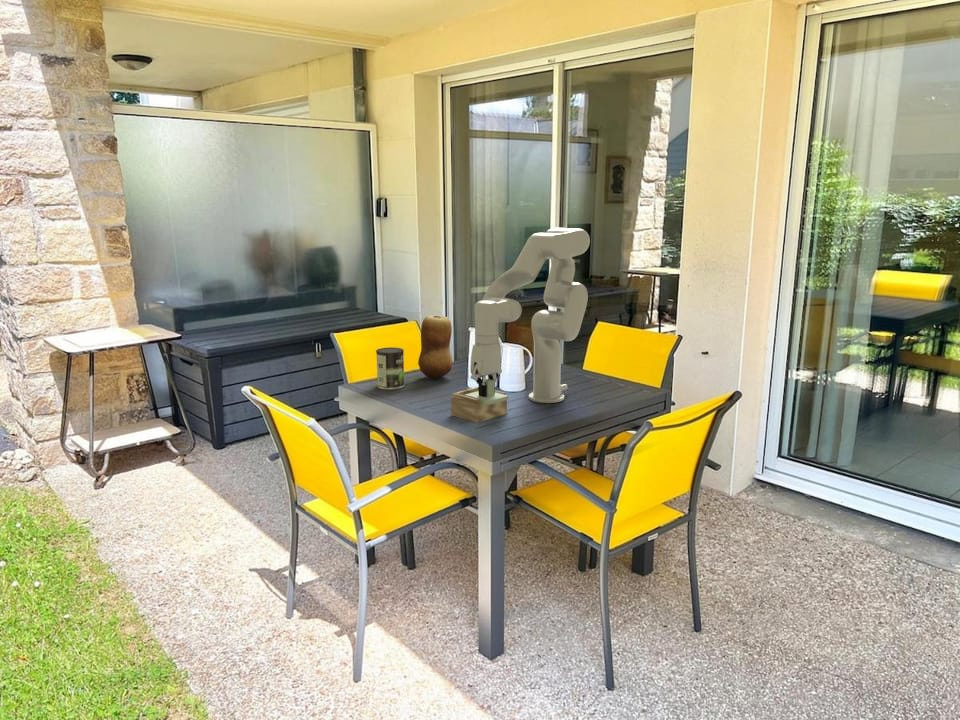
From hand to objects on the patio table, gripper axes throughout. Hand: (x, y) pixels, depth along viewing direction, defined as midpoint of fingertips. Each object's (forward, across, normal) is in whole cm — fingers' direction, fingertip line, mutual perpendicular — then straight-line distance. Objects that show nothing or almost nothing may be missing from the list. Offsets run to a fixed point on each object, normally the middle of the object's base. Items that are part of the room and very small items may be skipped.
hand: (486, 394), depth 229 cm
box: (+7, 0, -3) cm, 8 cm away
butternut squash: (+8, -21, -50) cm, 55 cm away
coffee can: (+8, -1, -52) cm, 53 cm away
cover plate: (+1, 0, 0) cm, 1 cm away
